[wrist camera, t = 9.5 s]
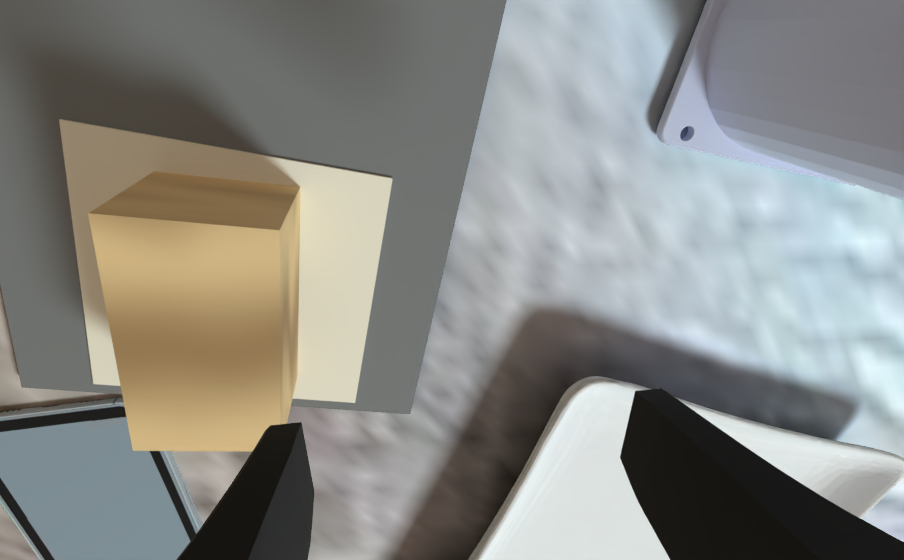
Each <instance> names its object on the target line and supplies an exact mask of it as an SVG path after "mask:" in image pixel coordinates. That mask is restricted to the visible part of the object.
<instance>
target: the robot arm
mask: <svg viewBox="0 0 904 560" xmlns="http://www.w3.org/2000/svg"><path fill="white" fill-rule="evenodd" d="M686 126H687V127H688V132H687V134H686V136H685V137H683V138H682V139H681V137H680V134H681V131H682V130H683V128H685V127H686ZM657 137H658V139H659V140H660V141H661V142H663V143H666V144H668V145H672V146H677V147H681V148H686V149H690V150H695V151H700V152H704V153H709V154H713V155H718V156H722V157H727V158H731V159H736V160H740V161H745V162H749V163H754V164H758V165H763V166H767V167H772V168H777V169H781V170H786V171H790V172H795V173H799V174H804V175H808V176H813V177H817V178H822V179H826V180H831V181H835V182H840V183H844V184H849V185H853V186H855V185H858V186H861V187H864V188H867V189H870V190H873V191H876V192H880V193H883V194H886V195H889V196H892V197H895V198H898V199H901V200H904V0H707V1H706V4H705V6H704V9H703V12H702V14H701V17H700V19H699V22H698V24H697V27H696V30H695V32H694V35H693V37H692V40H691V42H690V45H689V47H688V50H687V53H686V55H685V58H684V60H683V63H682V65H681V68H680V71H679V73H678V76H677V78H676V81H675V83H674V86H673V89H672V91H671V94H670V96H669V99H668V101H667V104H666V106H665V109H664V112H663V114H662V117H661V119H660V122H659V124H658V128H657ZM620 459H621V461H622V464H623V467H624V469H625V472H626V474H627V477H628V479H629V482H630V484H631V486H632V489H633V491H634V493H635V496H636V498H637V500H638V503H639V504H640V506H641V508H642V510H643V512H644V514H645V515H646V517H647V519H648V521H649V523H650V524H651V526H652V528H653V530H654V532H655V534H656V535H657V537H658V539H659V541H660V542H661V544H662V546H663V548H664V550H665V551H666V553H667V555H668V557H669V558H670V560H904V542H902V541H900V540H898V539H896V538H895V537H893V536H891V535H889V534H887V533H885V532H884V531H882V530H880V529H878V528H876V527H875V526H873V525H871V524H869V523H867V522H866V521H864V520H862V519H860V518H858V517H857V516H855V515H853V514H851V513H850V512H848V511H846V510H844V509H842V508H841V507H839V506H837V505H836V504H834V503H832V502H831V501H829V500H827V499H826V498H824V497H822V496H821V495H819V494H817V493H816V492H814V491H813V490H811V489H809V488H808V487H806V486H805V485H803V484H801V483H800V482H798V481H797V480H795V479H793V478H792V477H790V476H789V475H787V474H786V473H784V472H782V471H781V470H779V469H778V468H776V467H775V466H773V465H772V464H770V463H769V462H767V461H766V460H764V459H763V458H761V457H760V456H758V455H757V454H755V453H754V452H752V451H751V450H749V449H748V448H747V447H745V446H744V445H742V444H741V443H739V442H738V441H736V440H735V439H733V438H732V437H731V436H729V435H728V434H726V433H725V432H723V431H722V430H721V429H719V428H718V427H716V426H715V425H713V424H712V423H711V422H709V421H708V420H706V419H705V418H704V417H702V416H701V415H699V414H698V413H696V412H695V411H694V410H692V409H691V408H689V407H688V406H686V405H685V404H684V403H682V402H681V401H679V400H678V399H676V398H675V397H673V396H672V395H670V394H669V393H667V392H666V391H664V390H663V389H650V390H640V391H635V394H634V398H633V403H632V407H631V411H630V416H629V420H628V424H627V429H626V433H625V437H624V442H623V446H622V450H621V455H620ZM313 502H314V488H313V482H312V477H311V472H310V466H309V461H308V456H307V450H306V445H305V440H304V434H303V429H302V423H301V422H300V423H290V424H279V425H270V426H269V427H268V428H267V429H266V430H265V432H264V433H263V435H262V437H261V438H260V440H259V442H258V443H257V445H256V447H255V448H254V450H253V451H252V453H251V455H250V456H249V458H248V459H247V461H246V463H245V464H244V466H243V467H242V469H241V470H240V472H239V473H238V475H237V476H236V478H235V479H234V481H233V482H232V484H231V485H230V487H229V488H228V490H227V491H226V493H225V494H224V496H223V497H222V498H221V500H220V501H219V503H218V504H217V506H216V507H215V508H214V510H213V511H212V513H211V514H210V516H209V517H208V518H207V520H206V521H205V523H204V524H203V525H202V527H201V528H200V530H199V531H198V532H197V534H196V535H195V536H194V537H193V539H192V540H191V541H190V543H189V544H188V545H187V547H186V548H185V549H184V551H183V552H182V553H181V554H180V556H179V557H178V558H177V560H307V559H308V553H309V548H310V541H311V529H312V516H313Z"/></svg>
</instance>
